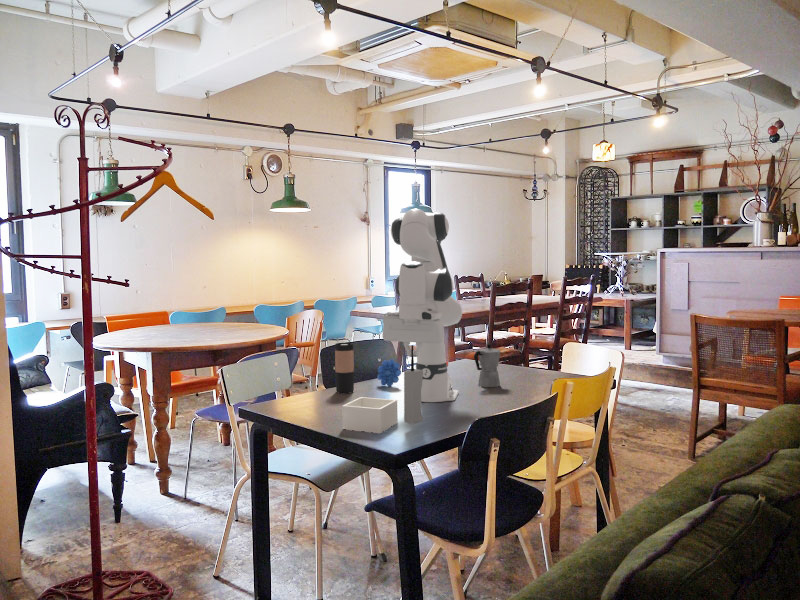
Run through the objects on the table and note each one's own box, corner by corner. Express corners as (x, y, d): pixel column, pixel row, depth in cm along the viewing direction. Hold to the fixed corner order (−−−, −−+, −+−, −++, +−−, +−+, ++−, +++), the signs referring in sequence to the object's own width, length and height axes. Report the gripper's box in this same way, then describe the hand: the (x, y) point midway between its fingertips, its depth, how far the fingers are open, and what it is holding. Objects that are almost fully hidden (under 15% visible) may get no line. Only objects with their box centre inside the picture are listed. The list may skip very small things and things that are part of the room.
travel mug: (332, 393, 266) (331, 344, 265) (340, 389, 273) (339, 342, 272) (350, 394, 264) (349, 345, 262) (357, 390, 271) (356, 342, 270)
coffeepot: (491, 382, 285) (491, 341, 284) (507, 385, 278) (507, 343, 277) (466, 386, 276) (466, 344, 274) (482, 390, 268) (482, 347, 267)
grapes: (406, 385, 279) (405, 358, 278) (398, 388, 273) (397, 360, 273) (382, 383, 285) (382, 356, 284) (374, 386, 279) (374, 358, 278)
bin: (361, 419, 223) (360, 397, 223) (397, 423, 218) (397, 400, 217) (342, 429, 211) (342, 405, 210) (380, 433, 206) (380, 409, 205)
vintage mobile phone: (423, 421, 210) (423, 344, 208) (412, 424, 206) (412, 346, 205) (414, 419, 213) (414, 343, 211) (404, 422, 209) (404, 345, 207)
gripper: (378, 312, 208) (379, 355, 209) (439, 315, 200) (439, 359, 201) (387, 310, 214) (387, 352, 215) (446, 313, 206) (446, 356, 207)
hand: (413, 355), depth 208 cm, fingers closed on vintage mobile phone
